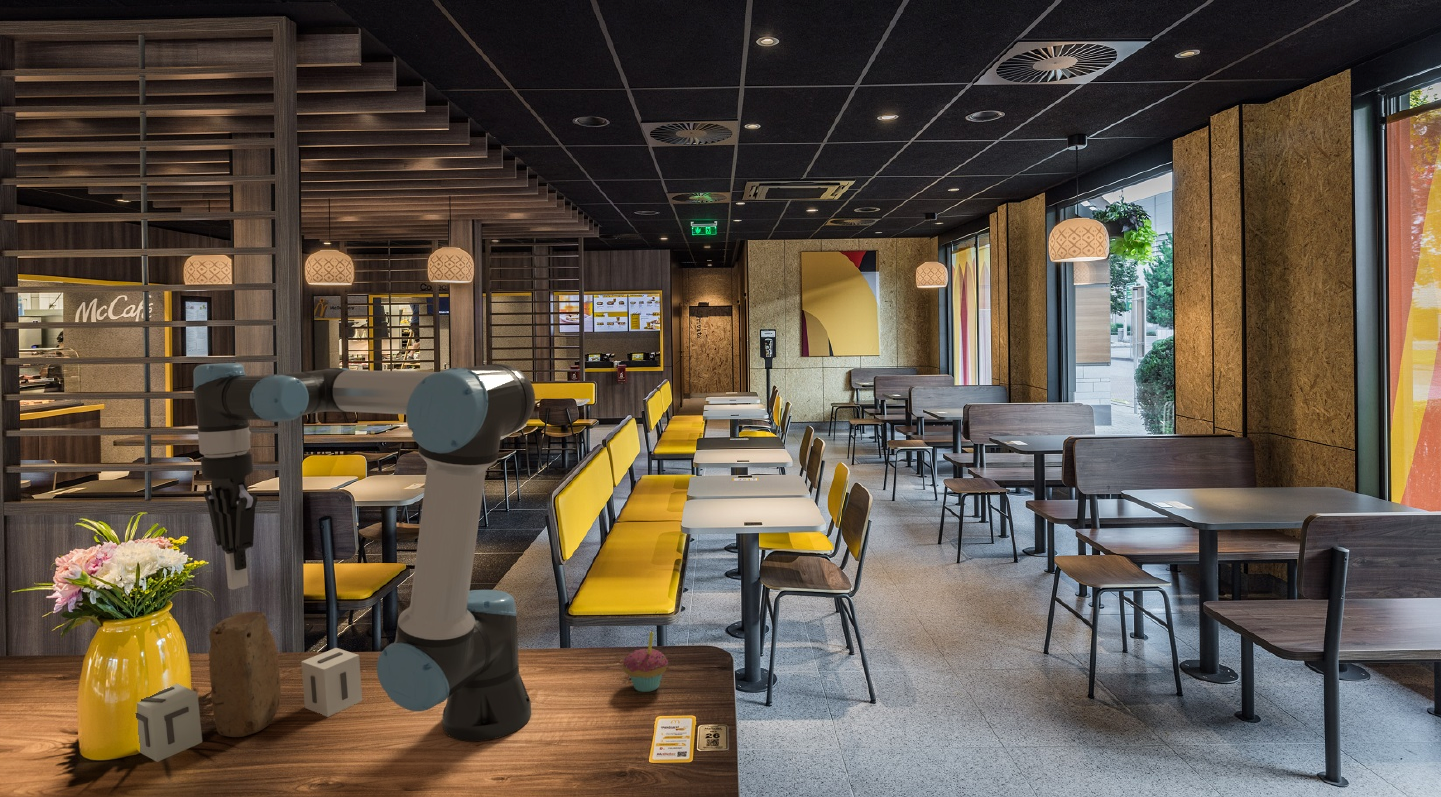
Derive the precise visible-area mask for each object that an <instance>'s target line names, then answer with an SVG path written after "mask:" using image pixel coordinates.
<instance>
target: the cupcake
mask: <svg viewBox="0 0 1441 797" xmlns="http://www.w3.org/2000/svg"><path fill="white" fill-rule="evenodd" d="M653 630H654V628H651V631H649V635H648V636H649V638H648V647H647V648H638V649H635V650H633V651H631V652H630V653H628V654H627V655H626V657H625V658H624V660H623V663H622V670H623V672H624V673H625V674H626V675H628V676H629V677H630V680H631V681H632V684H633V688H634V690H636V691H637V692H642V693H645V692H646V693H648V692H653V691H655V690H657V689H659V686H660V683H661V679H662V677H663V674H664V672H666V671H667V667H668V665H669V661H668V659H667V656H666V655H665V654H664V653H663V652H661V651H660V650H657V649H656V648H652V647H653V639H654V637H653V636H654V632H653Z"/></svg>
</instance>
